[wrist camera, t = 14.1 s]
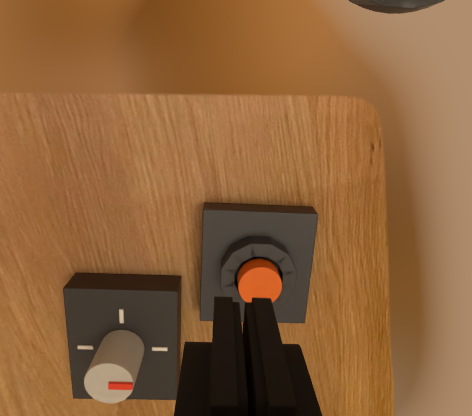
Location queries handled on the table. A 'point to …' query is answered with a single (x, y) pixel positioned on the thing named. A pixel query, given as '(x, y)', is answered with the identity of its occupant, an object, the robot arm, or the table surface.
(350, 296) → the table surface
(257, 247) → the grey piece
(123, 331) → the temp dial
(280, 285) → the button
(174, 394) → the dial console
